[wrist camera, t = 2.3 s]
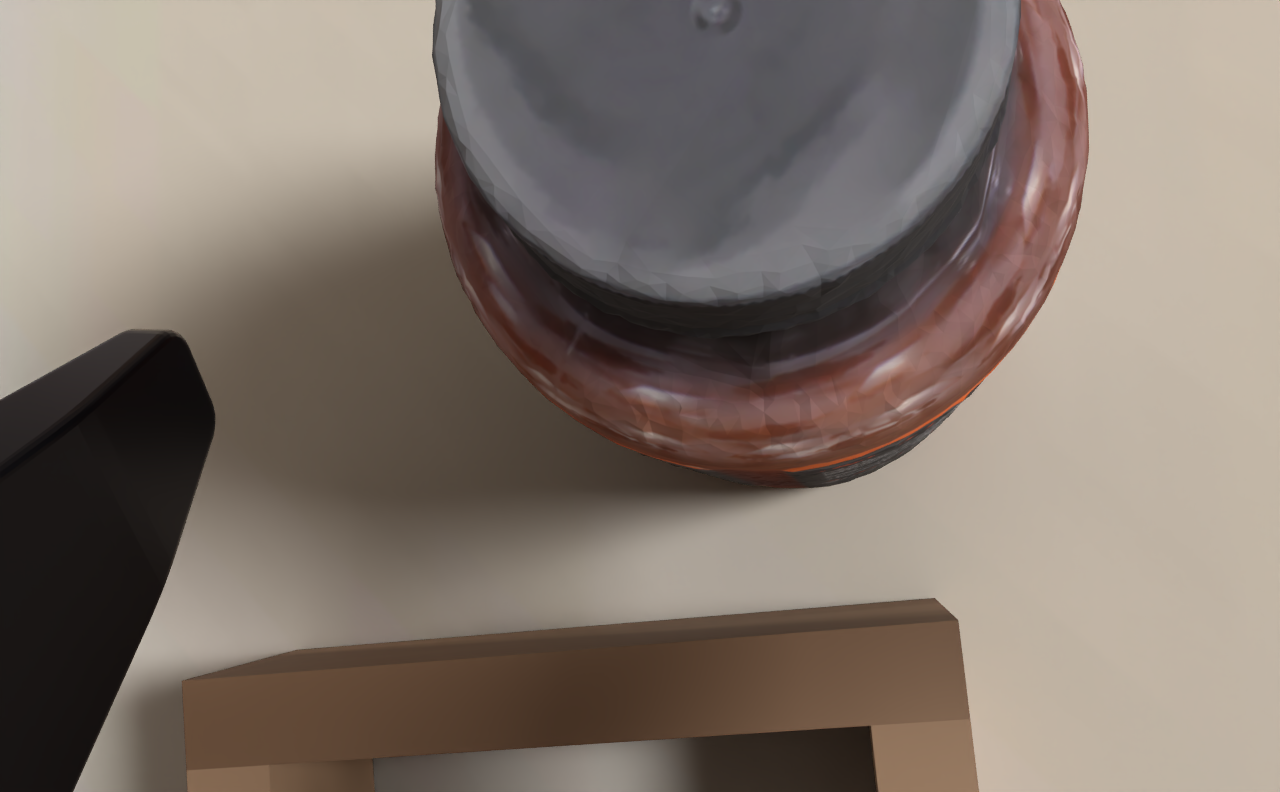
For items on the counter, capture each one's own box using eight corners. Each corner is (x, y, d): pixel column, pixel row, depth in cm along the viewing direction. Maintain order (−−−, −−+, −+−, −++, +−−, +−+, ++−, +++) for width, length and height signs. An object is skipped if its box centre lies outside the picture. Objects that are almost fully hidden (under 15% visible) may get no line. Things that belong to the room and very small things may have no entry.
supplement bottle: (1049, 215, 18) (1382, -235, 7) (876, 558, 18) (941, 641, 7) (708, 64, 19) (536, -529, 8) (543, 386, 19) (149, 226, 8)
